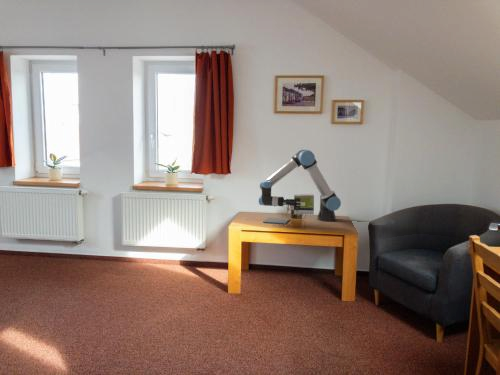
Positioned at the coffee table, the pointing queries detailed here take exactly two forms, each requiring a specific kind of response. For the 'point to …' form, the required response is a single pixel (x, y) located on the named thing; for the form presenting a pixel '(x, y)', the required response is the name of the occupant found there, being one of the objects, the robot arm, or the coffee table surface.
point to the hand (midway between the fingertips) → (306, 202)
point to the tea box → (308, 206)
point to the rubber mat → (276, 220)
